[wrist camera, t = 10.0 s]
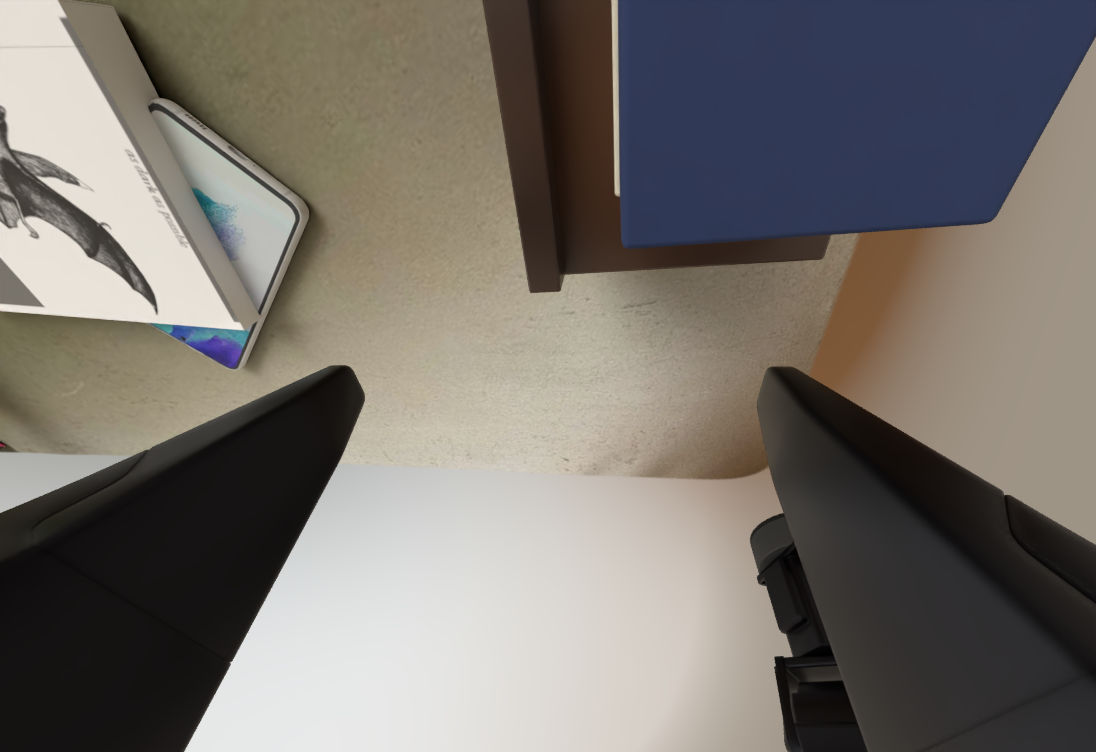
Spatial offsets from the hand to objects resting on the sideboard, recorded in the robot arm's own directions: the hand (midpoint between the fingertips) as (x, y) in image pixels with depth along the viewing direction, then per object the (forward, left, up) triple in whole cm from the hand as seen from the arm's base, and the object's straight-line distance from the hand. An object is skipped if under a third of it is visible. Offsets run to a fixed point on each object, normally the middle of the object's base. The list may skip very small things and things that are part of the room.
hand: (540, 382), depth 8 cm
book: (+30, +3, -12) cm, 33 cm away
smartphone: (+20, +6, -12) cm, 25 cm away
